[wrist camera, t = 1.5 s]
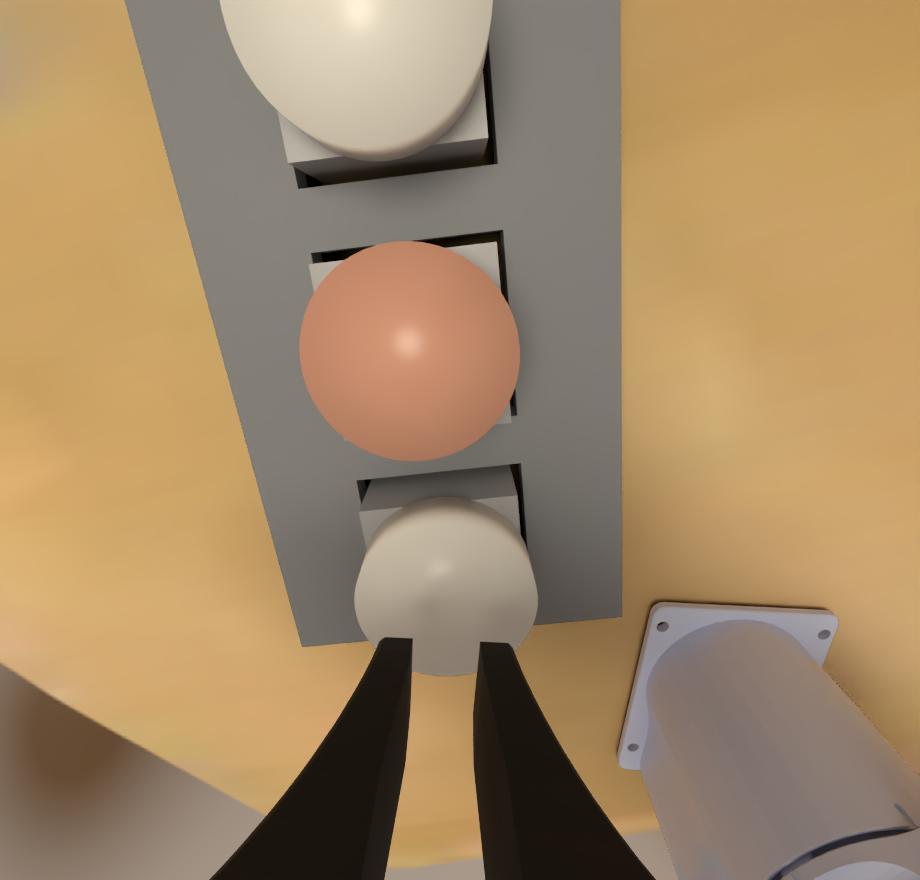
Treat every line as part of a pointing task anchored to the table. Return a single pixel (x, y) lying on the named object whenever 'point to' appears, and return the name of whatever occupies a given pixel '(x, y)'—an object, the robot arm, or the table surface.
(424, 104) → the knob
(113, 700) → the table surface
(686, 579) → the table surface
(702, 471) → the table surface
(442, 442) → the knob middle
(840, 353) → the table surface
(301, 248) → the console
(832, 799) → the robot arm
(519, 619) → the knob
